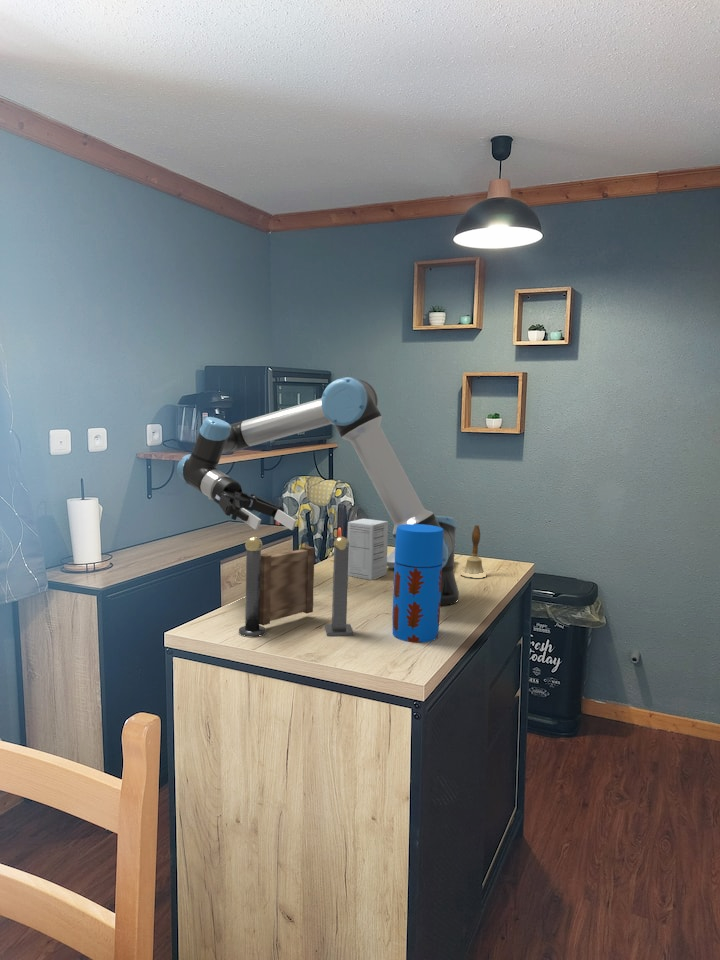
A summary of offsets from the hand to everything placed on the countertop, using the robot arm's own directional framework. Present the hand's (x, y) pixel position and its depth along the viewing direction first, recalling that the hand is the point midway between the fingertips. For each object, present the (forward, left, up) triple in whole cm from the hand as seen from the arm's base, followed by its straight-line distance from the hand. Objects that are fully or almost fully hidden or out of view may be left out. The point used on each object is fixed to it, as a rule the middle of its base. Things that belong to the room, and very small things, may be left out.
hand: (276, 525), depth 177 cm
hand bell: (-46, -56, -22) cm, 76 cm away
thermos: (-36, +7, -22) cm, 43 cm away
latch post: (-19, +11, -22) cm, 31 cm away
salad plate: (-28, -63, -23) cm, 72 cm away
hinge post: (0, +17, -22) cm, 28 cm away
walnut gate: (-5, +9, -20) cm, 23 cm away
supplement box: (-14, -45, -22) cm, 52 cm away
